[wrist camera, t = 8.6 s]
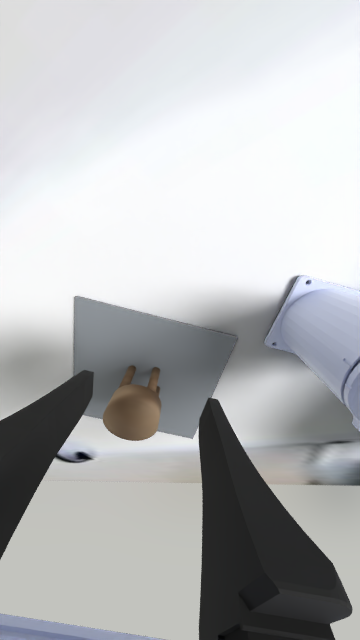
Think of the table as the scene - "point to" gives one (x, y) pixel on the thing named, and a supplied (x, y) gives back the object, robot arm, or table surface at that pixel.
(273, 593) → the robot arm
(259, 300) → the table surface
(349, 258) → the table surface
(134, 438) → the stool
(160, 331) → the mat
